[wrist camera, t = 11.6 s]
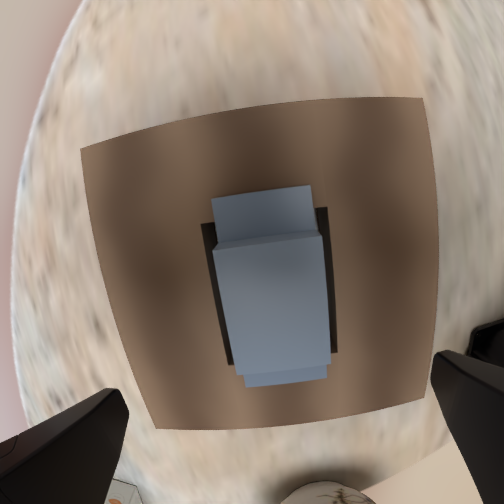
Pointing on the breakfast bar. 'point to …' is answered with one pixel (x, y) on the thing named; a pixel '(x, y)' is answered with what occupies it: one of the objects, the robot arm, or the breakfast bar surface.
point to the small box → (122, 494)
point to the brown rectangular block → (330, 227)
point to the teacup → (327, 494)
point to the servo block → (273, 285)
